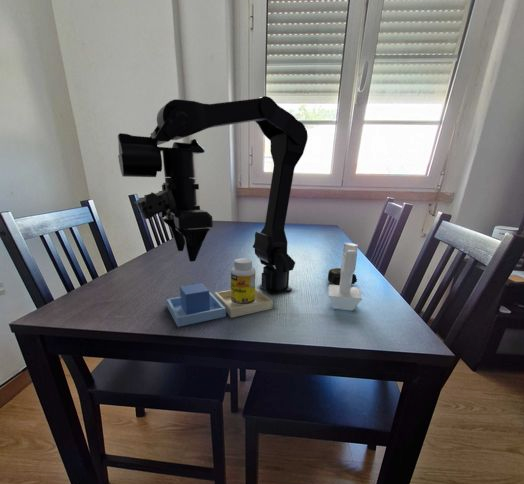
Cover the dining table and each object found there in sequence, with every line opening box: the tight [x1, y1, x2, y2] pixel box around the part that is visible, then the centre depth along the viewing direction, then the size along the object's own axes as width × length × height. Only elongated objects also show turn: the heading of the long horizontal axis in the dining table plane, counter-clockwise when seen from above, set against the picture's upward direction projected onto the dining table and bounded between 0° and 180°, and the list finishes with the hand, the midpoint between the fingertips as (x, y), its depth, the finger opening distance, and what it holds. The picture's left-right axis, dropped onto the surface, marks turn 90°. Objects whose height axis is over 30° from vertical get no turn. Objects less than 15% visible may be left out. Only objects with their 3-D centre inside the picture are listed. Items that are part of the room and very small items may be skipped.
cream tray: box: [214, 287, 274, 319], centre depth 66 cm, size 10×10×2 cm
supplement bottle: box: [230, 257, 256, 306], centre depth 64 cm, size 6×6×10 cm
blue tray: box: [166, 291, 227, 328], centre depth 62 cm, size 10×10×2 cm
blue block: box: [179, 283, 210, 315], centre depth 61 cm, size 5×5×5 cm
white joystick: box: [328, 242, 363, 311], centre depth 64 cm, size 7×9×15 cm
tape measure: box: [327, 267, 358, 286], centre depth 80 cm, size 7×7×4 cm
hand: (186, 255), depth 60 cm, fingers open, 9 cm apart
